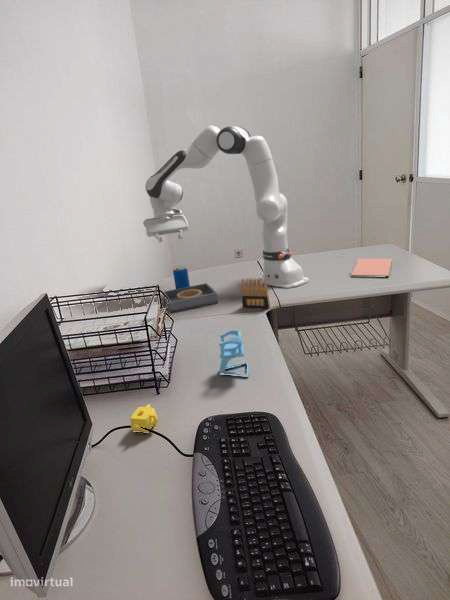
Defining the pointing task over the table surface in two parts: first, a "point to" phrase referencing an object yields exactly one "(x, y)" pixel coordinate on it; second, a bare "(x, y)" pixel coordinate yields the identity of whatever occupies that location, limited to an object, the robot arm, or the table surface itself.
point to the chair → (231, 351)
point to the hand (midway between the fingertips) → (170, 240)
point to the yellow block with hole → (143, 418)
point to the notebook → (371, 267)
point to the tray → (190, 297)
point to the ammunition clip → (255, 295)
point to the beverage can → (181, 277)
